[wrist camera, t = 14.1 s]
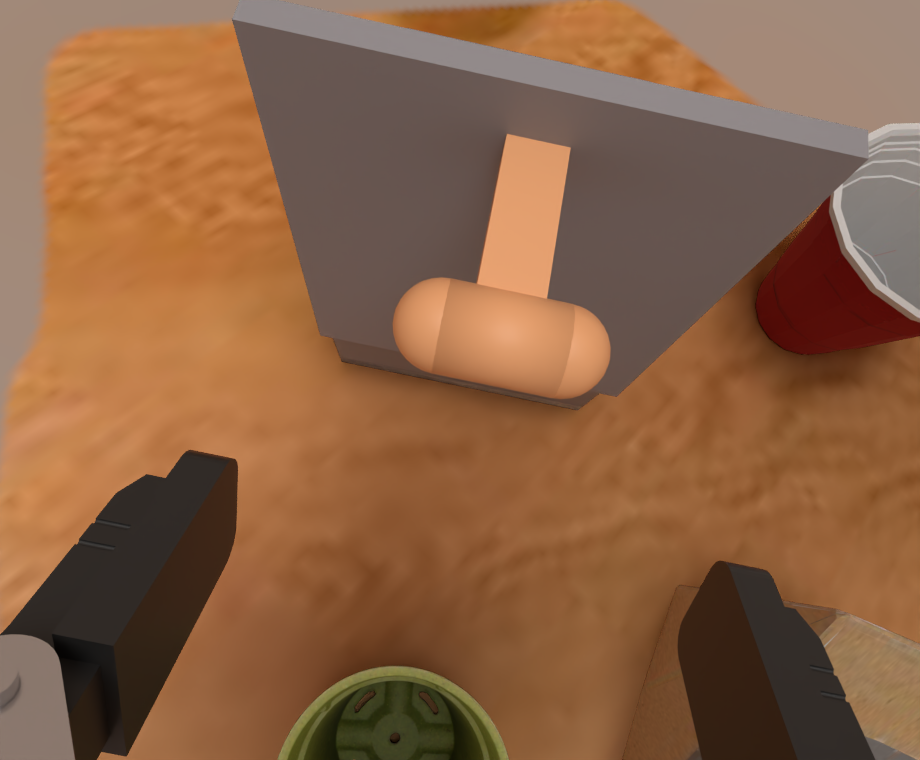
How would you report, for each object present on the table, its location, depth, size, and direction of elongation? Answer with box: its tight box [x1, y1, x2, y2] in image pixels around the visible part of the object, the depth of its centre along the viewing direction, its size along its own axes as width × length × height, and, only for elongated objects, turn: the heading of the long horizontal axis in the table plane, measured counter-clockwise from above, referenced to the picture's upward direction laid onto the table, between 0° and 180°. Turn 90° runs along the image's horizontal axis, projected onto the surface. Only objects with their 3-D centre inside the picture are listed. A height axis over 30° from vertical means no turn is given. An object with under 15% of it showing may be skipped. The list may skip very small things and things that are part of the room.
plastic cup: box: [756, 123, 920, 355], centre depth 36 cm, size 11×11×12 cm
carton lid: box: [232, 0, 869, 399], centre depth 22 cm, size 18×14×7 cm
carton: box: [333, 28, 649, 410], centre depth 38 cm, size 18×14×6 cm
